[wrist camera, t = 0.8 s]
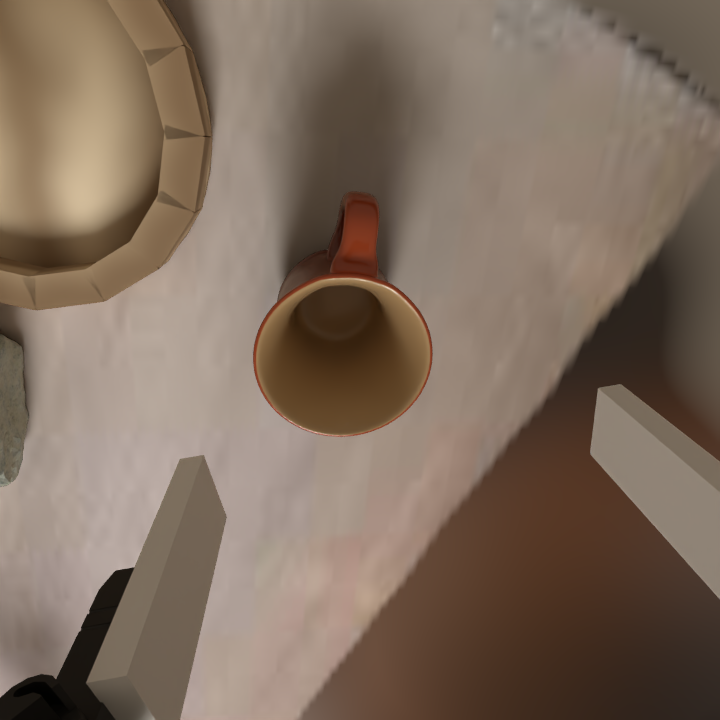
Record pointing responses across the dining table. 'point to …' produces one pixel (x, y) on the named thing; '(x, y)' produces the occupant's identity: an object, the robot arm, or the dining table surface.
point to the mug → (343, 336)
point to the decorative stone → (11, 410)
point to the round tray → (95, 147)
